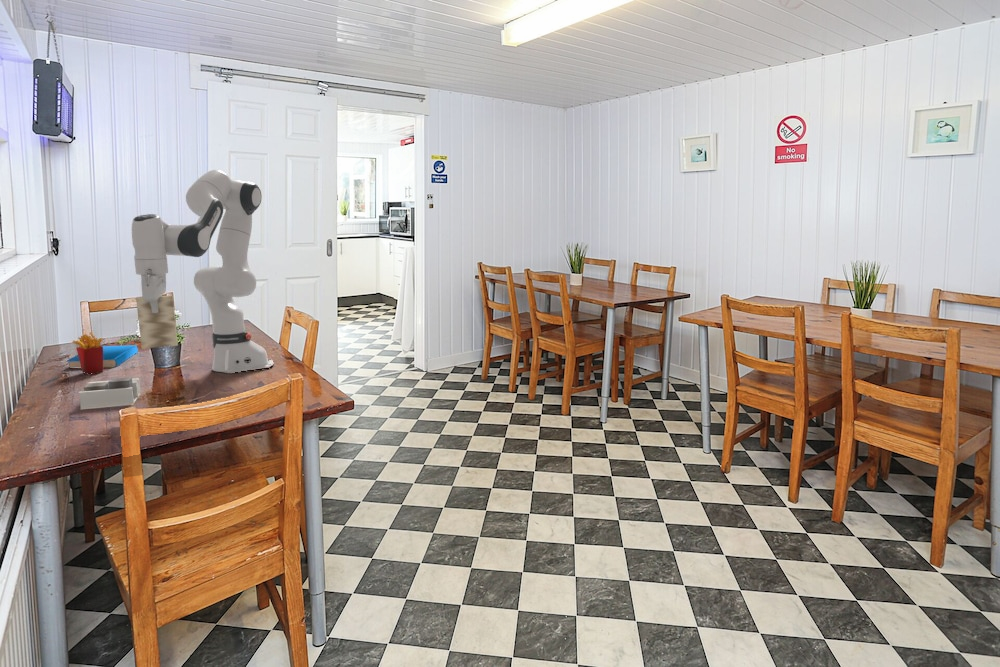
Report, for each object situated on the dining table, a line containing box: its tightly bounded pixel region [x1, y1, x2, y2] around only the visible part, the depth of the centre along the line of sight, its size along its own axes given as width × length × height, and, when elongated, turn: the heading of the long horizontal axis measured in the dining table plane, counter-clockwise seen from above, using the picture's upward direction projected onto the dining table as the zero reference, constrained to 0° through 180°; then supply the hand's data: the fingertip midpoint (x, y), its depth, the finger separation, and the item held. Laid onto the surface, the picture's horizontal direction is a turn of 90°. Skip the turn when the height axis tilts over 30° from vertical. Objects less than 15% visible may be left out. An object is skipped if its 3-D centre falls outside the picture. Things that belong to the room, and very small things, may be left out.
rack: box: [78, 377, 142, 411], centre depth 196 cm, size 14×14×6 cm
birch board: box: [135, 295, 179, 349], centre depth 197 cm, size 10×2×16 cm, turn 110°
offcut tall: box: [108, 376, 134, 397], centre depth 195 cm, size 6×4×7 cm
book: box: [66, 344, 139, 368], centre depth 253 cm, size 17×4×25 cm
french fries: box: [72, 332, 104, 375], centre depth 233 cm, size 9×8×15 cm
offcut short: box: [83, 382, 109, 391], centre depth 193 cm, size 6×4×6 cm
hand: (156, 312), depth 196 cm, fingers closed on birch board, 2 cm apart
